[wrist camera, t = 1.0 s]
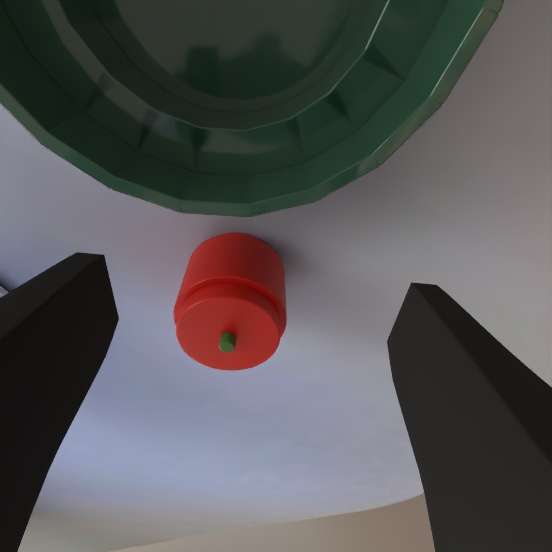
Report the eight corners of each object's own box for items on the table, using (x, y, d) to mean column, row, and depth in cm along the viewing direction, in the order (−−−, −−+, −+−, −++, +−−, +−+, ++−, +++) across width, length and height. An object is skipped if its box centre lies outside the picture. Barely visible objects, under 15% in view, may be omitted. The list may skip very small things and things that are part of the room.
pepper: (227, 314, 23) (215, 398, 18) (170, 254, 20) (138, 334, 15) (301, 278, 21) (309, 359, 16) (249, 207, 18) (241, 281, 14)
